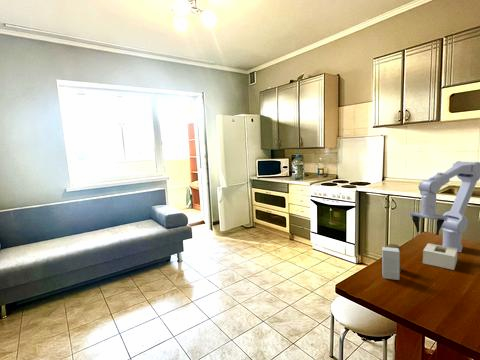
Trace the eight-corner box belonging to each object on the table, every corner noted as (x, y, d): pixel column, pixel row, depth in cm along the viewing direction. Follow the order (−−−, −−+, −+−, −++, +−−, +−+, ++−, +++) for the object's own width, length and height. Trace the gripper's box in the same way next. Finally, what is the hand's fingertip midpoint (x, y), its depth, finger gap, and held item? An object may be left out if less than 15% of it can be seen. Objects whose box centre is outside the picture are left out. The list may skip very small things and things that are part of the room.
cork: (397, 265, 118) (397, 242, 117) (404, 272, 112) (404, 247, 111) (382, 265, 119) (383, 242, 118) (389, 272, 113) (389, 247, 112)
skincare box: (398, 275, 110) (398, 248, 108) (399, 280, 106) (400, 252, 105) (381, 273, 113) (382, 246, 111) (382, 278, 109) (382, 250, 107)
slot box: (427, 255, 127) (427, 243, 126) (456, 261, 119) (457, 248, 119) (422, 263, 119) (423, 250, 119) (454, 270, 112) (454, 256, 111)
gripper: (408, 205, 128) (408, 232, 129) (446, 209, 118) (445, 238, 119) (412, 202, 133) (411, 228, 134) (448, 205, 123) (447, 234, 124)
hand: (427, 233), depth 127 cm, fingers open, 7 cm apart
